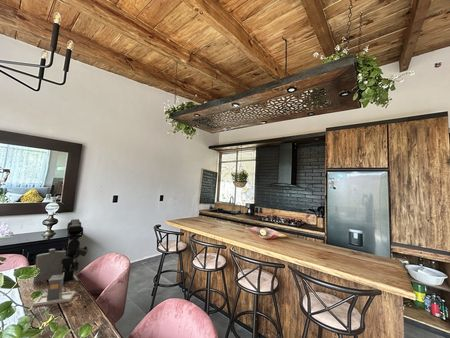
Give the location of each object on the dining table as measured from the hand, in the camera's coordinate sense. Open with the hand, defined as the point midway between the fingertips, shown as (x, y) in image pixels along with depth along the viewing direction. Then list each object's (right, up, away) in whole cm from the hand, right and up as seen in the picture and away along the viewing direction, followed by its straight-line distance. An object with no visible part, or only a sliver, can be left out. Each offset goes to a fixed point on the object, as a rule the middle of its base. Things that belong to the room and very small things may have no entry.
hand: (70, 269), depth 131 cm
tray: (+1, -11, -13) cm, 17 cm away
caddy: (+1, -10, -13) cm, 17 cm away
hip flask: (-24, -12, +11) cm, 29 cm away
